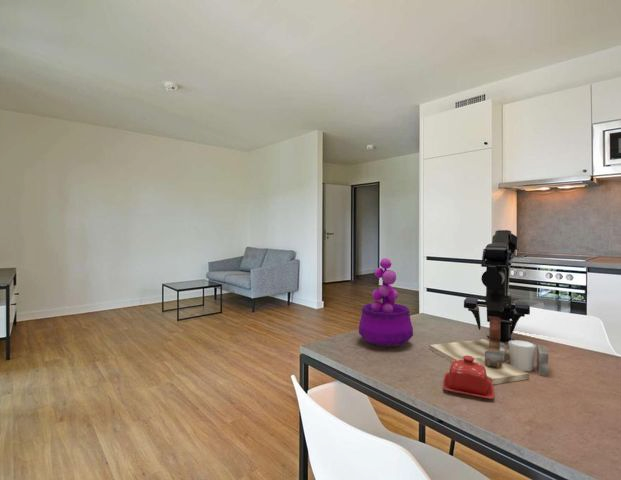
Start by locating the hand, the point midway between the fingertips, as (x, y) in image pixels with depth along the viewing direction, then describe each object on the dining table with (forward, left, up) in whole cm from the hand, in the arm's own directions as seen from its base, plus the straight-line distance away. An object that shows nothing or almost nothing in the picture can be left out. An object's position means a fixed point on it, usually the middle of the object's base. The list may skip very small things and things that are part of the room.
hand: (495, 331), depth 113 cm
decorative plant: (+31, -17, -7) cm, 36 cm away
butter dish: (+27, +20, -7) cm, 34 cm away
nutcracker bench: (+8, +6, -7) cm, 12 cm away
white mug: (+3, +13, -7) cm, 15 cm away
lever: (+6, +7, -4) cm, 10 cm away
